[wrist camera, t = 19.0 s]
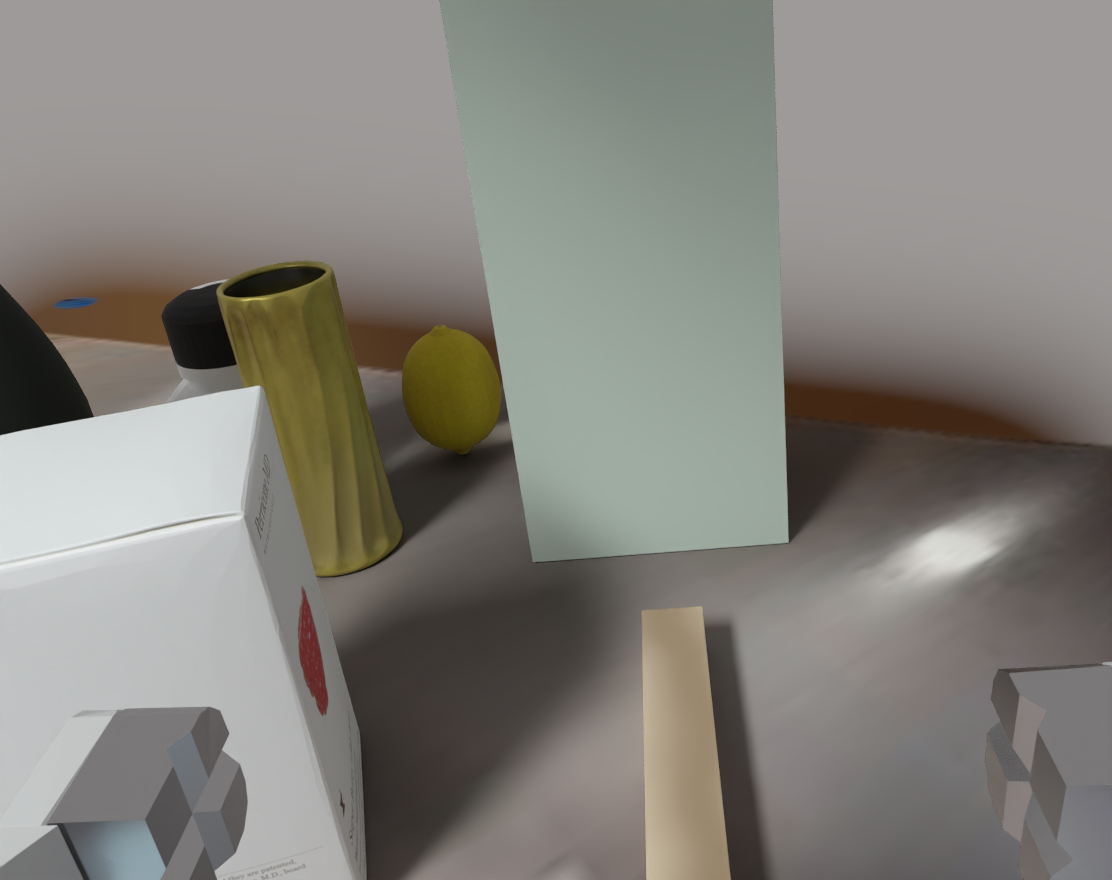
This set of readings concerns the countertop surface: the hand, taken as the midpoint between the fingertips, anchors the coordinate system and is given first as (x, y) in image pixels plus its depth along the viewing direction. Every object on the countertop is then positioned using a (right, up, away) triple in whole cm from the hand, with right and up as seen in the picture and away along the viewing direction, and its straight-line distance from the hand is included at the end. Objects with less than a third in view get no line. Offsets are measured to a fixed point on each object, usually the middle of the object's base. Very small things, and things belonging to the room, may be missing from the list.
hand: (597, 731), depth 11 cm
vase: (-11, -2, +41) cm, 43 cm away
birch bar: (+4, -10, +22) cm, 25 cm away
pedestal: (+5, 0, +41) cm, 42 cm away
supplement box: (-11, -11, +24) cm, 29 cm away
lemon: (-6, +2, +49) cm, 49 cm away
